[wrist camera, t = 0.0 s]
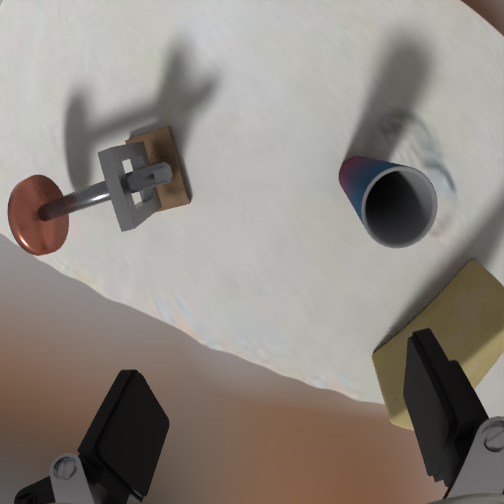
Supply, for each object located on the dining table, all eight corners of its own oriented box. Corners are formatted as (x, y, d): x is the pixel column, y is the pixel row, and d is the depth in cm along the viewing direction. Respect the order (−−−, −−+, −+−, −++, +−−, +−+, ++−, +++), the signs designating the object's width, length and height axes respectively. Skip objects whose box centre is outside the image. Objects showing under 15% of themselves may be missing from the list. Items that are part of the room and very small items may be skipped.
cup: (335, 145, 36) (368, 159, 22) (388, 154, 36) (444, 174, 22) (327, 199, 39) (354, 243, 25) (379, 206, 39) (427, 252, 25)
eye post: (128, 140, 38) (76, 150, 27) (170, 126, 37) (128, 129, 26) (149, 212, 41) (106, 245, 30) (190, 201, 40) (158, 233, 29)
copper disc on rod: (41, 174, 37) (-8, 192, 28) (175, 122, 34) (139, 124, 24) (62, 240, 41) (20, 270, 31) (197, 205, 37) (170, 233, 28)
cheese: (455, 242, 39) (513, 293, 26) (489, 272, 41) (542, 324, 27) (367, 354, 48) (387, 427, 34) (406, 372, 49) (431, 438, 35)
